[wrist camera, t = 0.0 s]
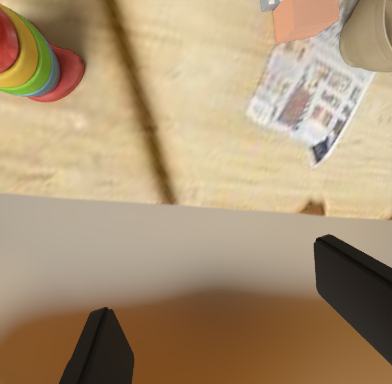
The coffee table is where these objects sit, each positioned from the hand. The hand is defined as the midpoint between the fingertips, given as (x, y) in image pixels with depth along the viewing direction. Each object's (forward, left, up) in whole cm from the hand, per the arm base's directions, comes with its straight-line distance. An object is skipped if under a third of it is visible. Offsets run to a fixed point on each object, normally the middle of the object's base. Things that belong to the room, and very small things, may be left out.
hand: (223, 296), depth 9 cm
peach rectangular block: (-21, +28, -31) cm, 47 cm away
